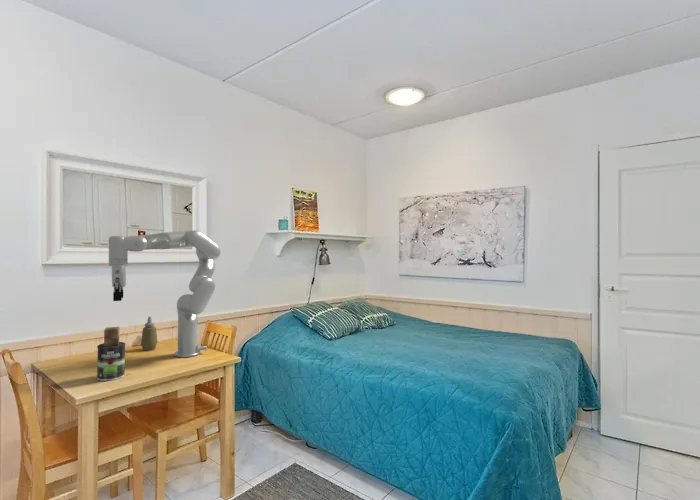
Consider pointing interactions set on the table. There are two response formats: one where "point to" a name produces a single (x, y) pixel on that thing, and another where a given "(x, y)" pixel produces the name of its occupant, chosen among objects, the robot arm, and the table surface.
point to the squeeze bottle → (149, 336)
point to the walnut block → (111, 336)
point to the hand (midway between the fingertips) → (118, 299)
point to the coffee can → (111, 362)
